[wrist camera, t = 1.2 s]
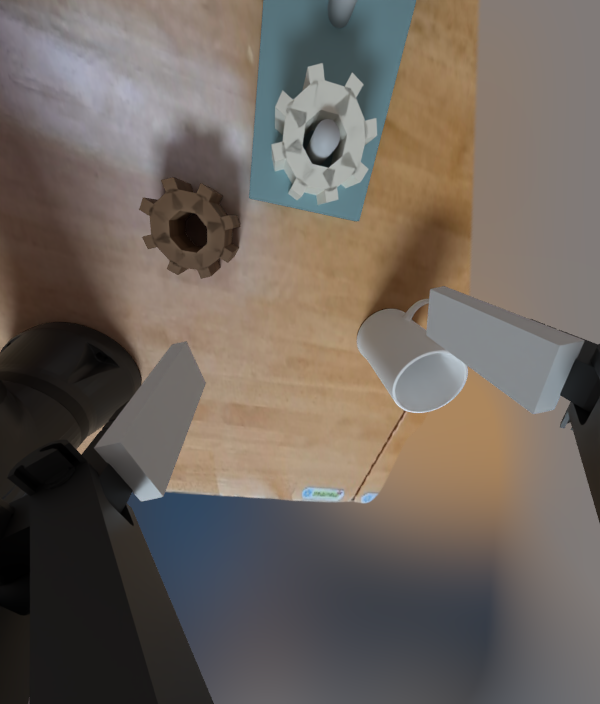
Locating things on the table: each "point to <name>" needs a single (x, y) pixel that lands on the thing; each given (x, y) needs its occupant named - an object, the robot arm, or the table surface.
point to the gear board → (338, 64)
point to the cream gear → (305, 116)
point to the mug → (410, 360)
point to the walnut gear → (172, 227)
